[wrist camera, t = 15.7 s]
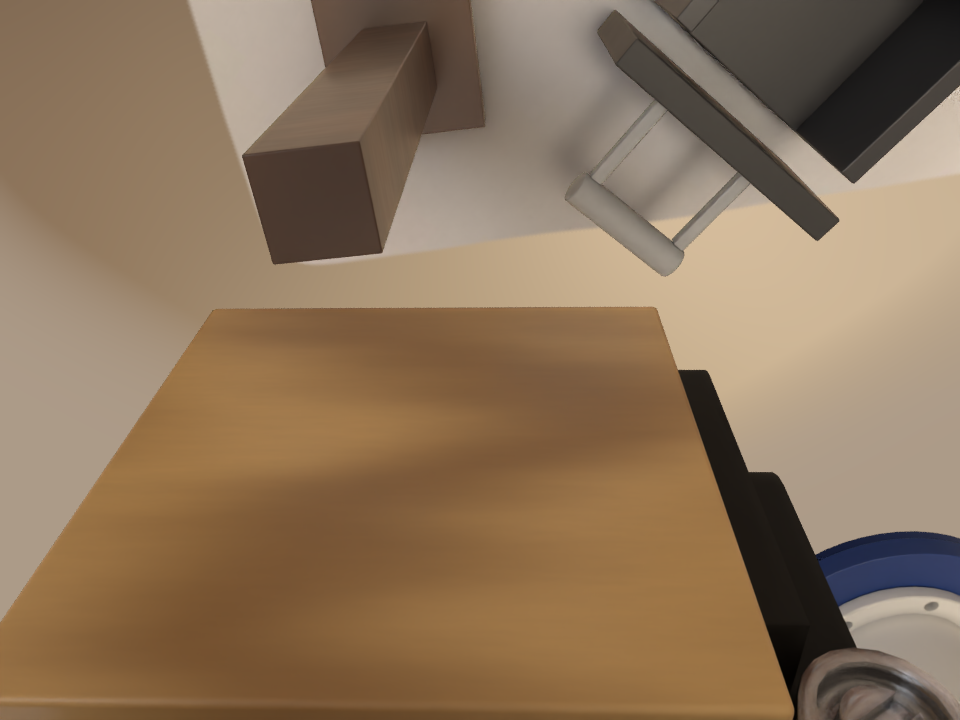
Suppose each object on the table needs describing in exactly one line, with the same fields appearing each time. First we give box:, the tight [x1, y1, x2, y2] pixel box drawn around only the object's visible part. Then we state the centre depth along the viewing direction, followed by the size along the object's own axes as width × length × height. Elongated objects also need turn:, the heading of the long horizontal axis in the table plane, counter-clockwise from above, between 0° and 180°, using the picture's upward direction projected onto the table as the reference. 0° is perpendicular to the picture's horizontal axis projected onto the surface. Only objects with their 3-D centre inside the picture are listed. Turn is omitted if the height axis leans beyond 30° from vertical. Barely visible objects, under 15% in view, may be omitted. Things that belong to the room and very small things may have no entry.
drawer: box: [565, 0, 960, 276], centre depth 33 cm, size 17×11×7 cm, turn 142°
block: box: [0, 307, 794, 720], centre depth 8 cm, size 5×5×5 cm
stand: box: [242, 0, 485, 264], centre depth 29 cm, size 7×7×20 cm
